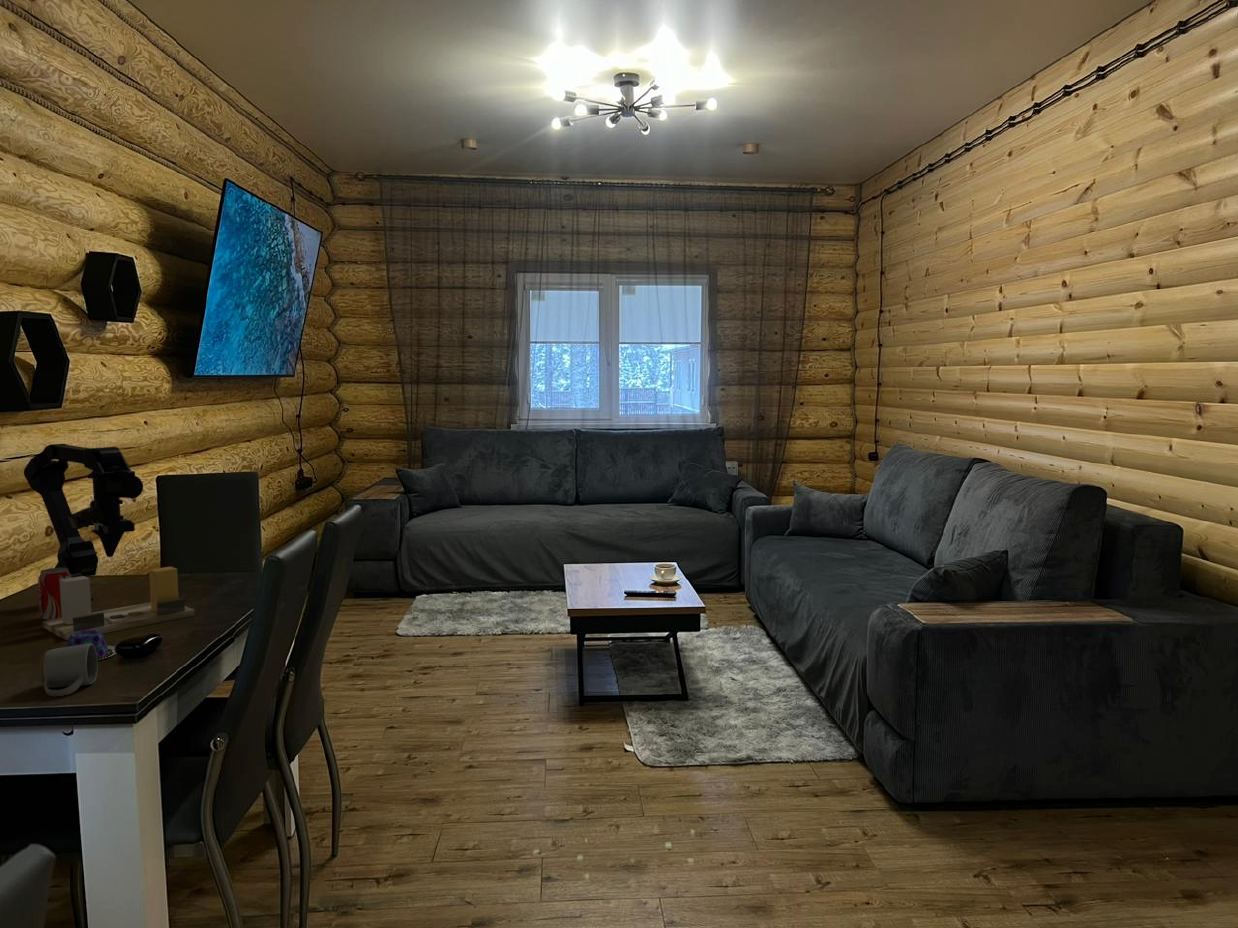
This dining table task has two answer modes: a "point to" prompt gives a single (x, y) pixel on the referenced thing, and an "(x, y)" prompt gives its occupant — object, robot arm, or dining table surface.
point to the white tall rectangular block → (75, 598)
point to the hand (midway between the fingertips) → (109, 556)
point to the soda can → (51, 592)
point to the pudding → (91, 641)
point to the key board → (121, 618)
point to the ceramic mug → (68, 668)
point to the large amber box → (163, 585)
